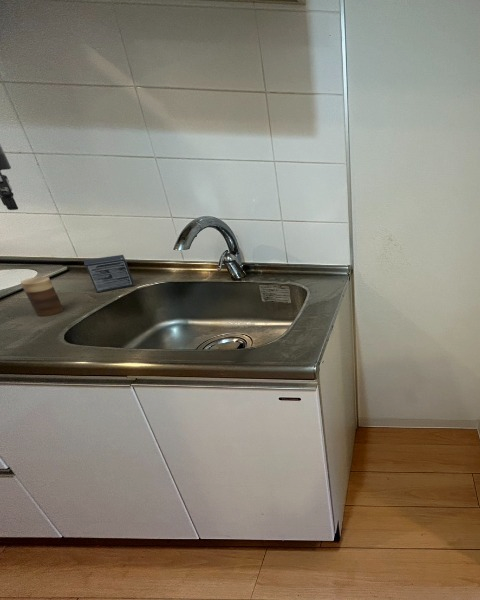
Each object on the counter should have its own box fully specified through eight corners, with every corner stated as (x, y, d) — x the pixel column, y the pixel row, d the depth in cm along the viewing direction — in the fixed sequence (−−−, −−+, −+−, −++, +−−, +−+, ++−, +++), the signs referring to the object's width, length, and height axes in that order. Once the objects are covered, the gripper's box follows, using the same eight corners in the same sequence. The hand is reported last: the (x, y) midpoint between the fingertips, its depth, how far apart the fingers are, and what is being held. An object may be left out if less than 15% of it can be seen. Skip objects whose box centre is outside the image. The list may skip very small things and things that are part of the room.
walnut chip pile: (30, 316, 90) (17, 292, 86) (47, 307, 95) (36, 284, 91) (53, 316, 91) (42, 292, 87) (69, 307, 96) (59, 284, 92)
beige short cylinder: (18, 292, 86) (14, 284, 85) (36, 284, 91) (32, 276, 90) (41, 292, 87) (37, 284, 86) (58, 284, 92) (54, 276, 91)
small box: (132, 280, 116) (123, 253, 111) (135, 286, 112) (126, 258, 107) (94, 287, 109) (83, 259, 104) (96, 293, 105) (84, 264, 100)
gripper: (-38, 149, 92) (-10, 205, 99) (-35, 153, 85) (-5, 212, 92) (0, 150, 98) (24, 203, 105) (7, 153, 91) (32, 209, 98)
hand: (11, 207), depth 99 cm, fingers open, 8 cm apart
